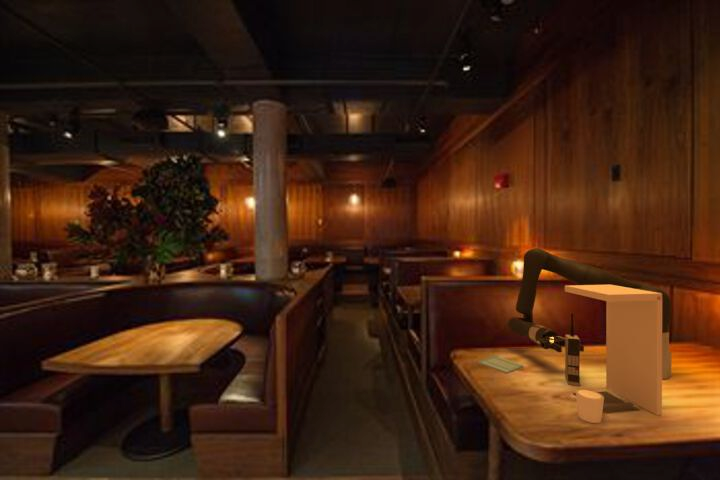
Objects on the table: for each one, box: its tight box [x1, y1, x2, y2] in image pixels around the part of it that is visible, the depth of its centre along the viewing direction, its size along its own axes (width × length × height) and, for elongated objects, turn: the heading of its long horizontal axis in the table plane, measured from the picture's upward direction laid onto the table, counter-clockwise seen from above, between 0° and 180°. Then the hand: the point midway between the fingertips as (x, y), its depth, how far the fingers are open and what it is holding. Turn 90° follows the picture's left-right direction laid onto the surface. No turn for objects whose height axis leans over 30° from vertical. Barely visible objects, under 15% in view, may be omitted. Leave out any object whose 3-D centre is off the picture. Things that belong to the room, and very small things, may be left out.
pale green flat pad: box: [477, 355, 524, 375], centre depth 138 cm, size 14×12×1 cm
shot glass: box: [575, 388, 604, 424], centre depth 98 cm, size 7×7×7 cm
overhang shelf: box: [564, 284, 663, 416], centre depth 107 cm, size 17×18×36 cm
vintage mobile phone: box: [564, 313, 581, 387], centre depth 121 cm, size 4×5×25 cm
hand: (572, 349), depth 121 cm, fingers open, 8 cm apart
